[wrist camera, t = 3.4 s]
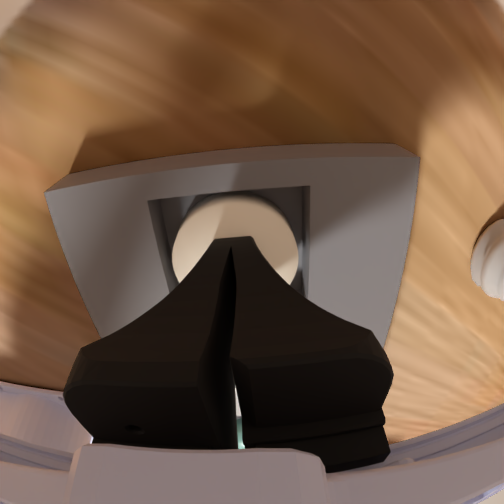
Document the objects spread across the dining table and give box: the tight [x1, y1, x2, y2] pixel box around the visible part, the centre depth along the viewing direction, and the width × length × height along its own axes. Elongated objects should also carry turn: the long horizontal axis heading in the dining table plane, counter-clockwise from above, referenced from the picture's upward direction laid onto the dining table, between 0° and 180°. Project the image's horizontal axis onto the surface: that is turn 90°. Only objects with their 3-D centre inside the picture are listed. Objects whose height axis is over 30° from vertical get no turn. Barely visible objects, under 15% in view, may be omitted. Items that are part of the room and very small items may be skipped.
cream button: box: [172, 191, 299, 285], centre depth 12 cm, size 4×4×1 cm
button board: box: [44, 143, 420, 419], centre depth 15 cm, size 13×20×2 cm, turn 4°
